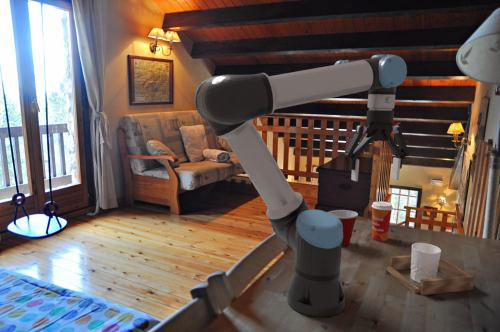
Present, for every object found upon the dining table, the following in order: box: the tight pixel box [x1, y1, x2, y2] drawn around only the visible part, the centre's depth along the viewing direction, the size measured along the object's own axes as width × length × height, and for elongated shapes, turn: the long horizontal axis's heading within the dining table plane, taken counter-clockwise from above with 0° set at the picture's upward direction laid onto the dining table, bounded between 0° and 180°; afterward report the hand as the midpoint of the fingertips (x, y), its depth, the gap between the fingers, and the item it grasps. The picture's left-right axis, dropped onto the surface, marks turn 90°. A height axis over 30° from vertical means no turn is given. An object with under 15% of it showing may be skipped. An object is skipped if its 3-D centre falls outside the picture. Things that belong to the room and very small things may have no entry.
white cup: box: [410, 242, 442, 284], centre depth 112 cm, size 8×8×10 cm
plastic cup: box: [328, 209, 359, 247], centre depth 138 cm, size 11×11×12 cm
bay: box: [386, 254, 475, 296], centre depth 113 cm, size 18×16×4 cm
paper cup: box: [371, 200, 394, 242], centre depth 143 cm, size 8×8×14 cm
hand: (374, 179), depth 115 cm, fingers open, 13 cm apart
